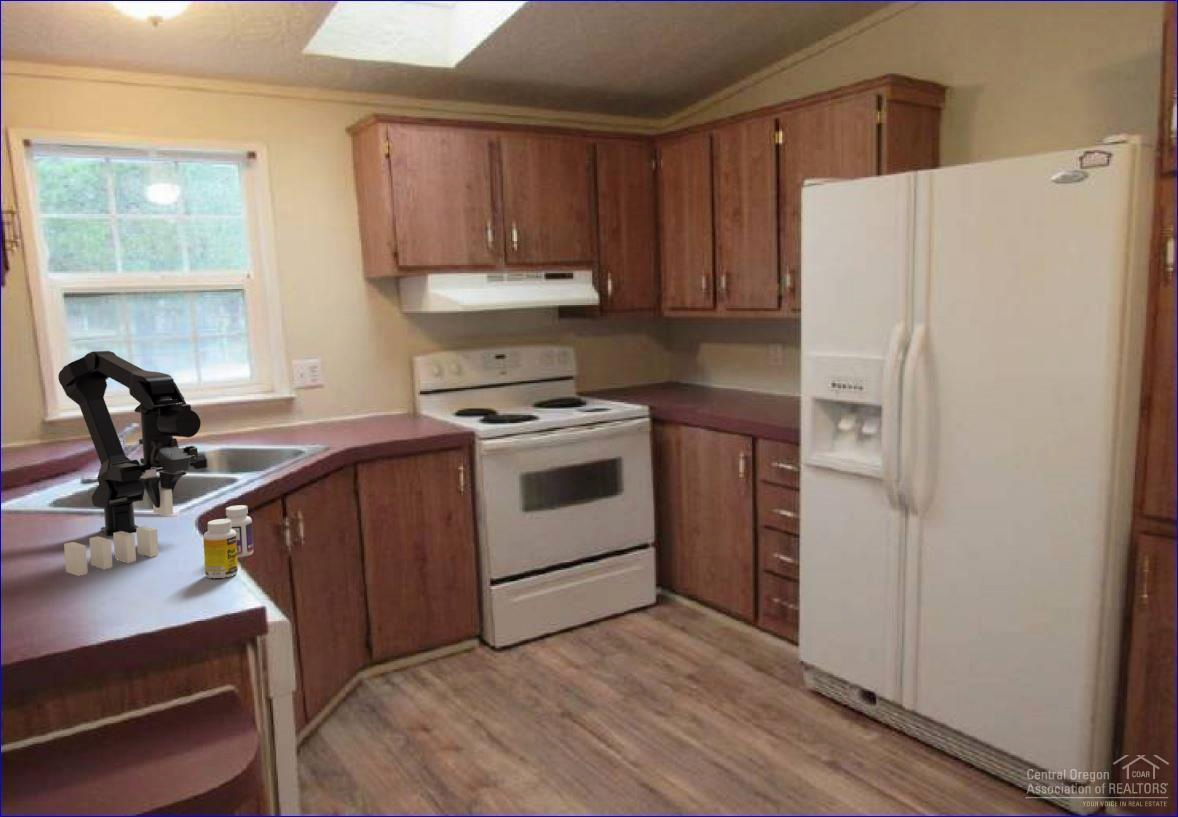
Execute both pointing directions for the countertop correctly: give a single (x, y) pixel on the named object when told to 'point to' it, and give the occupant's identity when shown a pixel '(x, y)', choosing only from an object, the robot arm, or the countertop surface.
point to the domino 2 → (100, 552)
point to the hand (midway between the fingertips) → (162, 506)
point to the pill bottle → (241, 529)
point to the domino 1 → (75, 558)
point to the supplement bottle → (220, 549)
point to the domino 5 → (164, 502)
